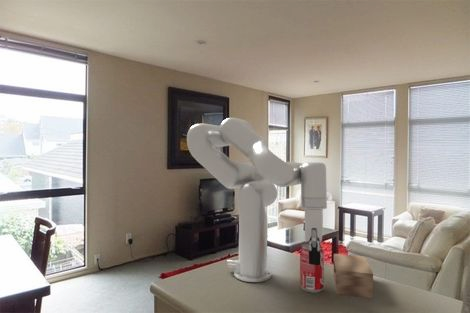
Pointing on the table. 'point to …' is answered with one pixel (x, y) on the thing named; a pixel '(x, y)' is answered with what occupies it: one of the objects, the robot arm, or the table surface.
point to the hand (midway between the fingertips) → (315, 259)
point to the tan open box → (353, 276)
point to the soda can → (311, 271)
